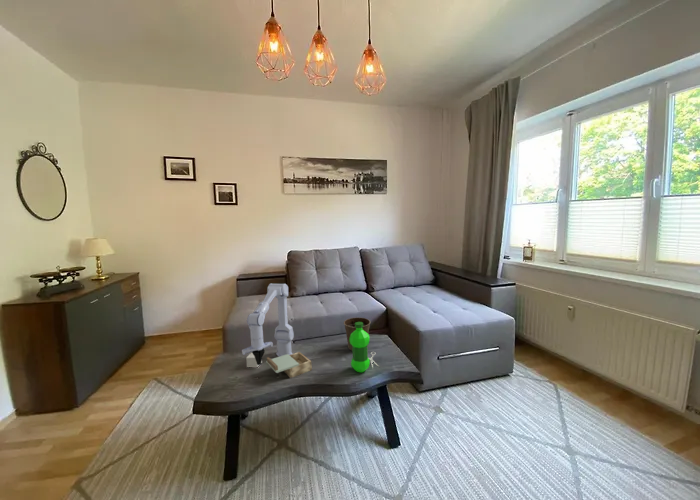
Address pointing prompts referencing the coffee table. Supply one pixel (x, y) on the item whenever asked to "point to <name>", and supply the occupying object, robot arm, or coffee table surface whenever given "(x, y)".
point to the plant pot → (351, 327)
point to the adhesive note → (251, 361)
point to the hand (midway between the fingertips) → (258, 364)
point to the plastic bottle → (359, 348)
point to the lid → (282, 363)
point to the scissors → (372, 359)
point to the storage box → (302, 367)
